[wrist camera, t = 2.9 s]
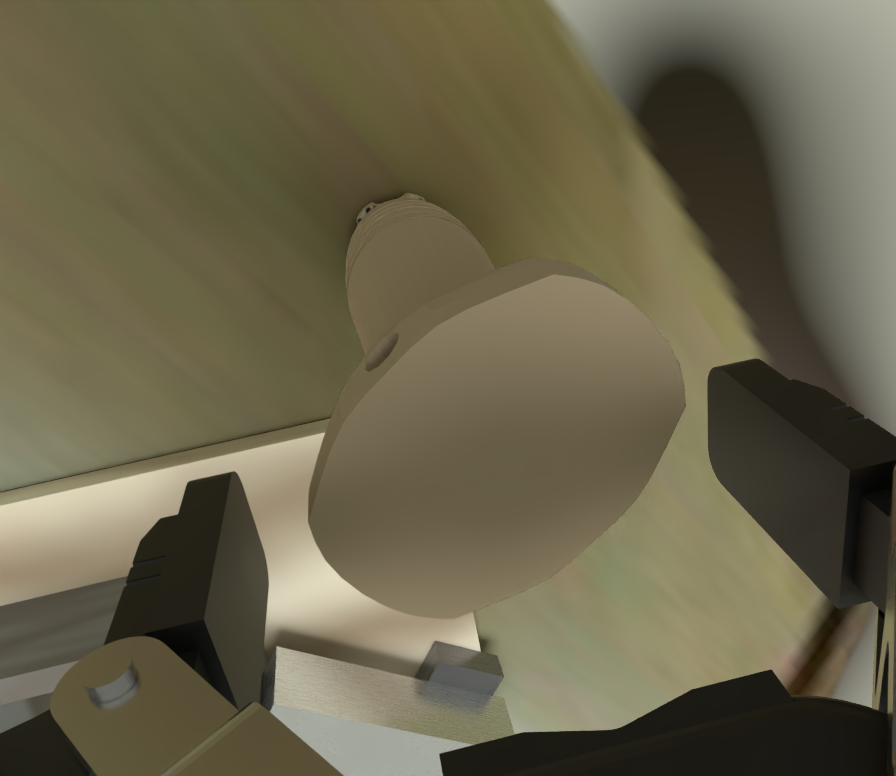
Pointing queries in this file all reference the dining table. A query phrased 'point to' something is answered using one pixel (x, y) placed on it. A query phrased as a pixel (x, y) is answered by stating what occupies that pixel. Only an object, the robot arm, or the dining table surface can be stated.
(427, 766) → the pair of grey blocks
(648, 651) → the dining table surface
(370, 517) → the handle
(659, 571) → the dining table surface
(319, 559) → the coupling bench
